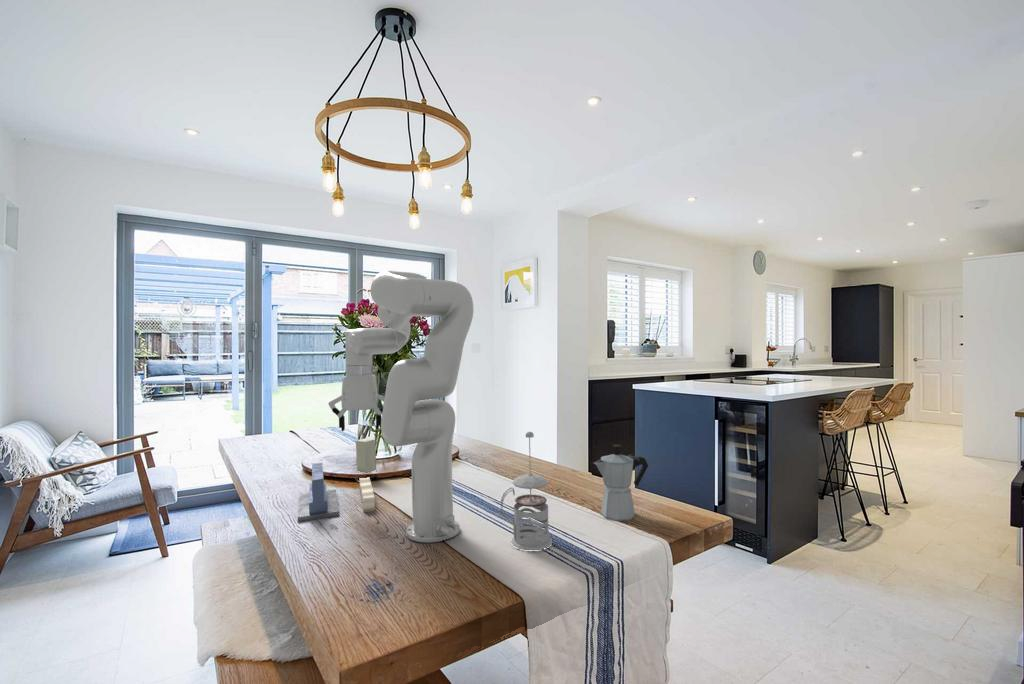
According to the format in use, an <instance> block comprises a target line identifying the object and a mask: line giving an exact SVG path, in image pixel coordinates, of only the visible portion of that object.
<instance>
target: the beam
mask: <svg viewBox="0 0 1024 684" xmlns="http://www.w3.org/2000/svg"><path fill="white" fill-rule="evenodd" d="M371 482H372V481H371V479H370V477H367V478H359V485H358V486H359V496H360V501H361V506H362V513H368V512H375V511H376V507H375V506H376V503H375V502H376V499H375V494H374V489H373V485H372V483H371Z"/></svg>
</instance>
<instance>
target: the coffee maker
mask: <svg viewBox="0 0 1024 684" xmlns="http://www.w3.org/2000/svg"><path fill="white" fill-rule="evenodd" d="M621 450H622V445H621V444H612V451H613V453H612V454H609V455H603V456H601V457H600V459H598V460H596V461H595V462H593V464H594V465H596V467H597V469H598V471H599V473H600V474H601V477H602V480H603V485H604V486H605V487H604V488H603V493H602V499H601V509H600V515H601V516H602V517H603V518H604V519H606V520H611V521H616V522H625V521H632V519H634V517H635V516H636V512H635V507H634V501H633V495H632V490H631V488H630V487H631V486H632V478H633V477H632V476H633V470H634V469H635V468H637V467H639V466H641V468H640V469H639V472H638V473H637V476H636V477H635V479H634V481H633V484H634V485H635V486H636V487H638V486H639V485H640V482H641V480H642V478H644V477H643V476H644V474H645V473H646V471H647V469H648V467H649V464H648V462H647V460H646V458H645V457H642V456H635V455H634V454H628V455H624V454H621Z"/></svg>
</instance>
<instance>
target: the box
mask: <svg viewBox="0 0 1024 684" xmlns="http://www.w3.org/2000/svg"><path fill="white" fill-rule="evenodd" d="M355 454H356V456H355V457H356V472H357V471H360V472H365V473H368V472H371V471H374V470H376V471H377V457H376V439H374V438H361V439H356V441H355Z"/></svg>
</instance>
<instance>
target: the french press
mask: <svg viewBox="0 0 1024 684" xmlns="http://www.w3.org/2000/svg"><path fill="white" fill-rule="evenodd" d="M525 438H528V443H529V445H528V449H529V452H528V453H529V458H531V438H534V433H533V432H532V431H527V432H525ZM531 466H532V465H531V462H529V473H526V474H522V475H519V476H517V477H516V478H514V479H513V480H512V485H514V486H515V487H516V488H519V489H526V490H527V489H528V490H529V493H528V494H522V495H521V494H520V495H518V496H517V497H515V498H514V502H515V504H514V505H513V518H514V519H513V518H511V517H510V516H508V515H507V514H506V513H505V511H504V506H503V503H504V499H505V498H506V497H507V496H508V494H509V493H511V492H512V495H513V496H515V495H516V494H515V489H514V487H509V488H508V489H506V490H505V491H504V492H503V495H502V496H501V500H500V508H501V512H502V513H501V514H502V515H503V517H504V518H505V519H506V520H507V521H509V522H510V523H512V525H513V537H512V538H511V539H512V541H511V540H510V542H511V543H512V544H513V546H515V547H517V548H519V549H523V550H540V549H544V548H546V547H549V546H550V545H551V544H552V540H553V539H552V538H551V537H550V535H549V533H550V532H549V505H548V504H547V501H548V499H547V498H546V497H545V496H544V495H540V494H534V493H533V494H532V490H533V489H540V488H541V489H542V488H545V487H546V486H548V484H549V480H548V479H546V478H545V477H544V476H542V475H539V474H535V473H531V470H532V469H531ZM522 507H524V508H522ZM520 508H521V509H520ZM532 508H534V509H535V510H537V511H535V510H533V509H532ZM523 518H524V519H523ZM521 519H522V520H521ZM532 519H533V520H532ZM534 520H535V521H534ZM533 525H534V526H533ZM536 526H537V527H536ZM540 528H541V529H540Z"/></svg>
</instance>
